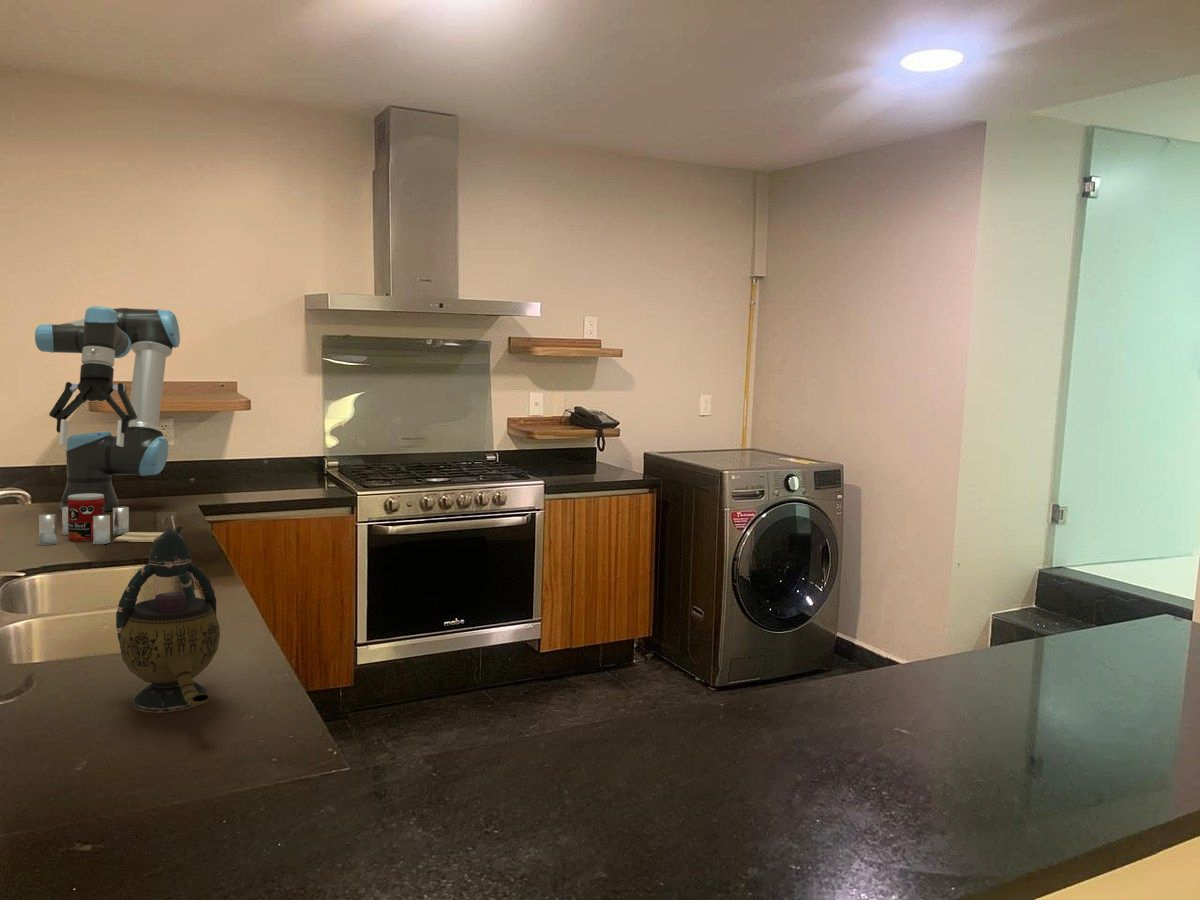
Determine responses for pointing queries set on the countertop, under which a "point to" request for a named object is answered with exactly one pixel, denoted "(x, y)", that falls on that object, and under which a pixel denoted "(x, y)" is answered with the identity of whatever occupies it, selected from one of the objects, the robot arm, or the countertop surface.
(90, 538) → the canned food
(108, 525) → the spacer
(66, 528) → the cylinder
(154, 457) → the robot arm
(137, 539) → the coaster
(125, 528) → the cylinder
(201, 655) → the teapot
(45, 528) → the cylinder
